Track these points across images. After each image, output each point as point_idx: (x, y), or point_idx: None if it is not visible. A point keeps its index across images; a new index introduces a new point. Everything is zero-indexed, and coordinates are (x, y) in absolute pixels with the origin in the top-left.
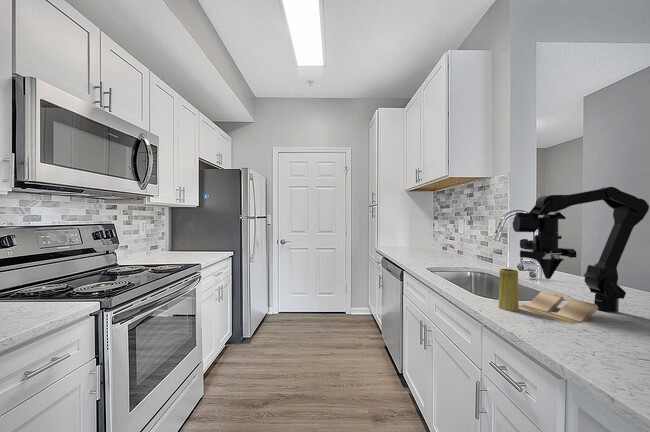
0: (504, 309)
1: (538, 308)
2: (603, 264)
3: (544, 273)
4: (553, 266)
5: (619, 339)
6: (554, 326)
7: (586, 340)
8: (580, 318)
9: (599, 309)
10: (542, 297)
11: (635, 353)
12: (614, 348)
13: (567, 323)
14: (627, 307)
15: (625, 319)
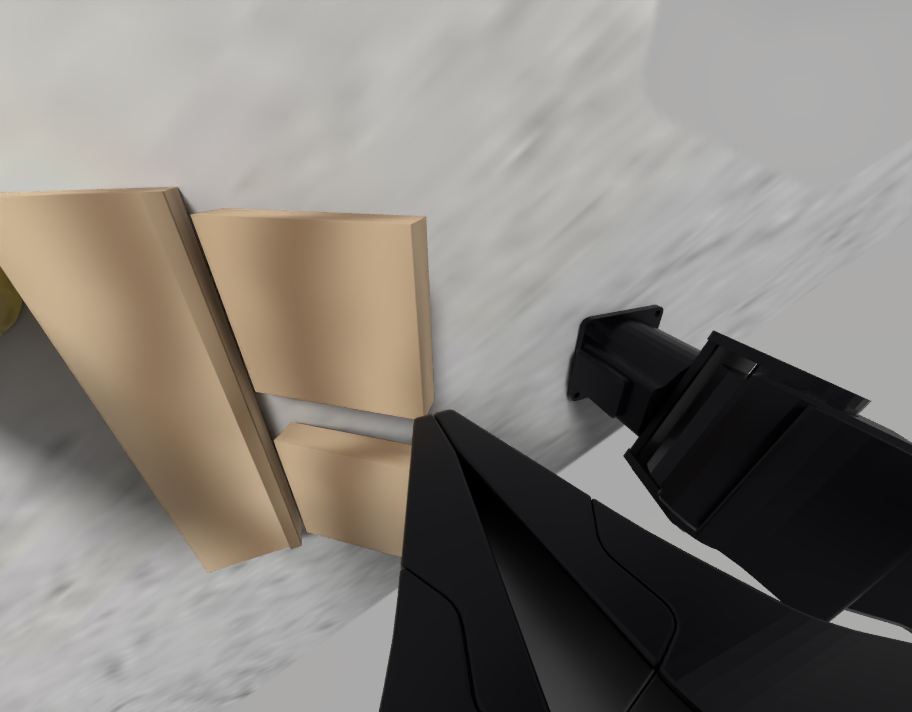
0: None
1: (238, 330)
2: (909, 612)
3: (408, 489)
4: (550, 707)
5: (333, 594)
6: (162, 524)
7: (186, 633)
8: (323, 530)
9: (583, 379)
10: (343, 292)
11: (266, 670)
12: (233, 660)
13: (206, 568)
14: (792, 268)
15: (590, 413)
